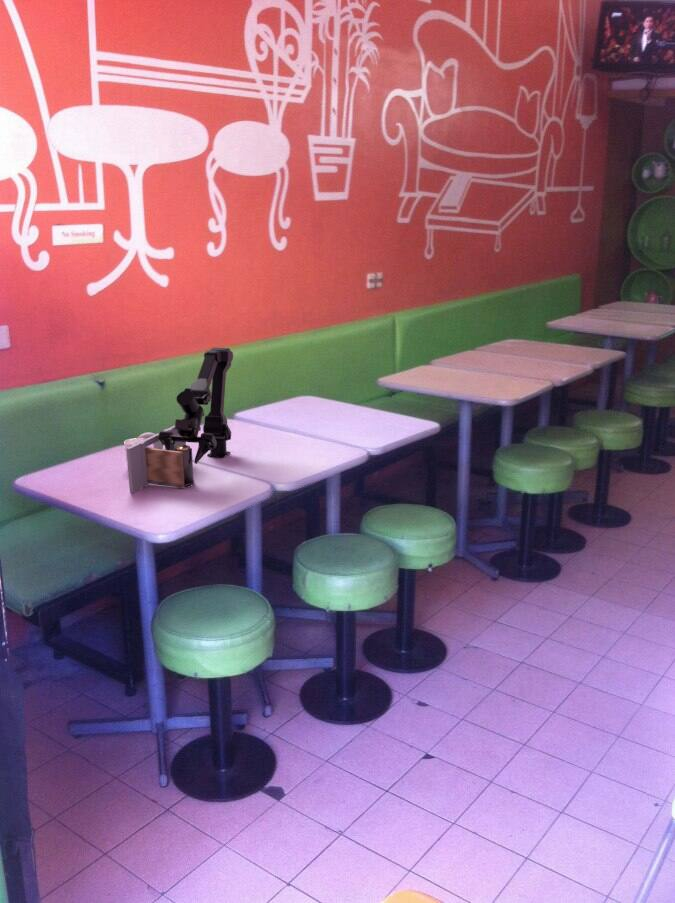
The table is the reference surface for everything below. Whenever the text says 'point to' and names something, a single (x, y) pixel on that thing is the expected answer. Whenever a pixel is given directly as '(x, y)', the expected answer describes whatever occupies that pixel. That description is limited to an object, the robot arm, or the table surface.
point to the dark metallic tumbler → (187, 464)
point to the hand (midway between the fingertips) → (181, 462)
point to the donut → (156, 445)
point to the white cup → (131, 442)
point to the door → (165, 467)
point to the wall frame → (143, 460)
